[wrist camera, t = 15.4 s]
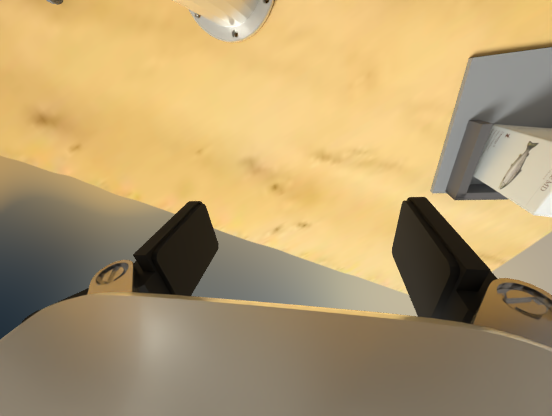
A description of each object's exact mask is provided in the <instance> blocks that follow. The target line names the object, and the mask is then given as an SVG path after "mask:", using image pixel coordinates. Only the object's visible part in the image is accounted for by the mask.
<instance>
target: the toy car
mask: <svg viewBox="0 0 552 416" xmlns="http://www.w3.org/2000/svg"><path fill="white" fill-rule="evenodd" d="M47 1H48V2H50V3H53V4H57V5H58V4H61V3H62V2H63V0H47Z"/></svg>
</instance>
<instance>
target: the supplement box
mask: <svg viewBox="0 0 552 416" xmlns="http://www.w3.org/2000/svg"><path fill="white" fill-rule="evenodd" d="M473 176H474V177H475V178H477V179H479V180H480V181H482V182H483V183H485V184H486V185H488V186H490V187H491V188H493V189H494V190H496V191H497V192H499V193H500V194H502V195H503V196H505V197H506V198H508V199H510V200H511V201H513V202H514V203H516V204H517V205H519V206H520V207H522V208H523V209H525V210H526V211H528V212H530V213H531V214H533V215H538V216H546V217H552V128H540V127H527V126H514V125H500V124H494V125H493V126H492V129H491V131H490V134H489V136H488V139H487V142H486V144H485V147H484V149H483V152H482V154H481V157H480V159H479V162H478V165H477V167H476V170H475V172H474V175H473Z"/></svg>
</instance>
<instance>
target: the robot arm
mask: <svg viewBox="0 0 552 416" xmlns="http://www.w3.org/2000/svg"><path fill="white" fill-rule="evenodd" d="M172 1H174V2H176V3H178V4H180V5H182V6H184V7H186V8H187V9H189V12H190V13H191V15H192V16H193V18H194V19H195V21H196V22H197V23H198V25H199V26H200V27H201V28H202V29H203V30H204V31H205V32H207V33H208V34H209V35H210V36H212V37H214V38H216V39H218V40H221V41H224V42H231V43H234V42H241V41H244V40H246V39H248V38H250V37H251V36H253V35H254V34H256V32H257V31H258V30H259V29H260V28H261V27H262V26H263V24H264V23H265V21H266V20H267V18H268V16H269V13H270V11H271V9H272V6H273V2H274V0H269V2H268V3H266V0H172ZM199 15H201V16H200V17H199ZM236 33H238V37H236ZM217 250H218V241H217V238H216V235H215V232H214V229H213V226H212V223H211V220H210V217H209V214H208V211H207V208H206V206H205V204H203V203H202V202H201V201H189V202H188V203H187V204H186V205H185V206H184V207H183V208H181V209H180V210H179V211H178V212H177V213H176V214H175V215H174V216H173V217H172V218H171V219H170V220H169V221H168V222H167V223H166V224H165V225H164V226H163V227H162V228H161V229H160V230H158V231H157V232H156V233H155V234H154V235H153V236H152V237H151V238H150V239H149V240H148V241H147V242H146V243H145V244H144V245H143V246H142V247H141V248H140V249H139V250H138V251H136V252H135V254H133V256H134V257H135V259H136V262H135V263H134V264H133V262H132V261H130V260H120V261H117V262H114V263H112V264H109V265H107V266H106V267H104V268H102V269H101V270H100V271H99V272H98V273H96V275H95V276H94V277H93V278H92V280H91V283H90V286H89V288H88V289H86V290H83V291H81V292H79V293H77V294H74V295H72V296H70V297H68V298H66V299H63V300H61V301H59V302H57V303H55V304H52V305H50V306H48V307H46V308H44V309H42V310H38V311H36V312H34V313H32V314H31V315H29V316H28V317H27V318H25V319H24V320H23V321H22V323H21V324H20V325H19V326H18V327H16V328H15V329H14V330H12V331H11V332H10V333H9V334H7V335H6V336H5V337H3V338H2V339H1V340H0V416H552V295H551V294H549V293H547V292H546V291H544V290H542V289H540V288H538V287H536V286H534V285H531V284H529V283H525V282H523V281H520V280H514V279H508V278H499V279H497V278H496V277H495V276H494V274H493V273H492V272H491V271H490V269H489V268H488V267H487V265H486V264H485V263H484V262H483V261H482V260H481V259H480V258H479V257H478V255H477V254H476V253H475V252H474V251H473V250H472V249H471V248H470V246H469V245H468V244H467V243H466V242H465V241H464V240H463V239H462V238H461V236H460V235H459V234H458V233H457V232H456V231H455V230H454V229H453V227H452V226H451V225H450V224H449V223H448V222H447V221H446V220H445V219H444V217H443V216H442V215H441V214H440V213H439V212H438V211H437V210H436V208H435V207H434V206H433V205H432V204H431V203H430V202H429V201H428V200H427V198H425V197H409V198H408V199H407V201H403V202H402V206H401V210H400V215H399V219H398V224H397V229H396V233H395V238H394V242H393V247H392V254H393V258H394V260H395V262H396V265H397V267H398V270H399V272H400V274H401V277H402V279H403V282H404V284H405V286H406V289H407V291H408V294H409V296H410V298H411V301H412V303H413V305H414V308H415V310H416V313H417V315H418V317H416V316H408V315H398V314H389V313H379V312H368V311H357V310H346V309H335V308H324V307H312V306H302V305H290V304H279V303H267V302H255V301H244V300H231V299H220V298H207V297H194V296H191V295H192V293H193V291H194V289H195V288H196V286H197V284H198V283H199V281H200V279H201V278H202V276H203V274H204V272H205V271H206V269H207V267H208V266H209V264H210V262H211V260H212V259H213V257H214V255H215V254H216V252H217Z"/></svg>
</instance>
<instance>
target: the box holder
mask: <svg viewBox="0 0 552 416" xmlns="http://www.w3.org/2000/svg"><path fill="white" fill-rule="evenodd" d="M494 124H500V125H514V126H527V127H540V128H552V47H550V48H542V49H535V50H527V51H520V52H512V53H505V54H497V55H490V56H482V57H475V58H469V60H468V63H467V67H466V70H465V74H464V77H463V81H462V84H461V88H460V91H459V94H458V98H457V101H456V105H455V108H454V112H453V115H452V119H451V122H450V125H449V129H448V132H447V136H446V139H445V143H444V146H443V150H442V153H441V156H440V160H439V163H438V167H437V170H436V174H435V177H434V180H433V184H432V187H431V192H432V193H447V194H449V195H450V196H451V197H452V198H453V199H454V200H498V199H508V198H506V197H505V196H503V195H502V194H500V193H499V192H497V191H496V190H494V189H493V188H491V187H490V186H488V185H486V184H485V183H483V182H482V181H480V180H479V179H477V178H475V177H474V176H473V175H474V172H475V170H476V167H477V165H478V162H479V159H480V157H481V154H482V152H483V149H484V147H485V144H486V142H487V139H488V136H489V134H490V131H491V129H492V126H493V125H494Z"/></svg>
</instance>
